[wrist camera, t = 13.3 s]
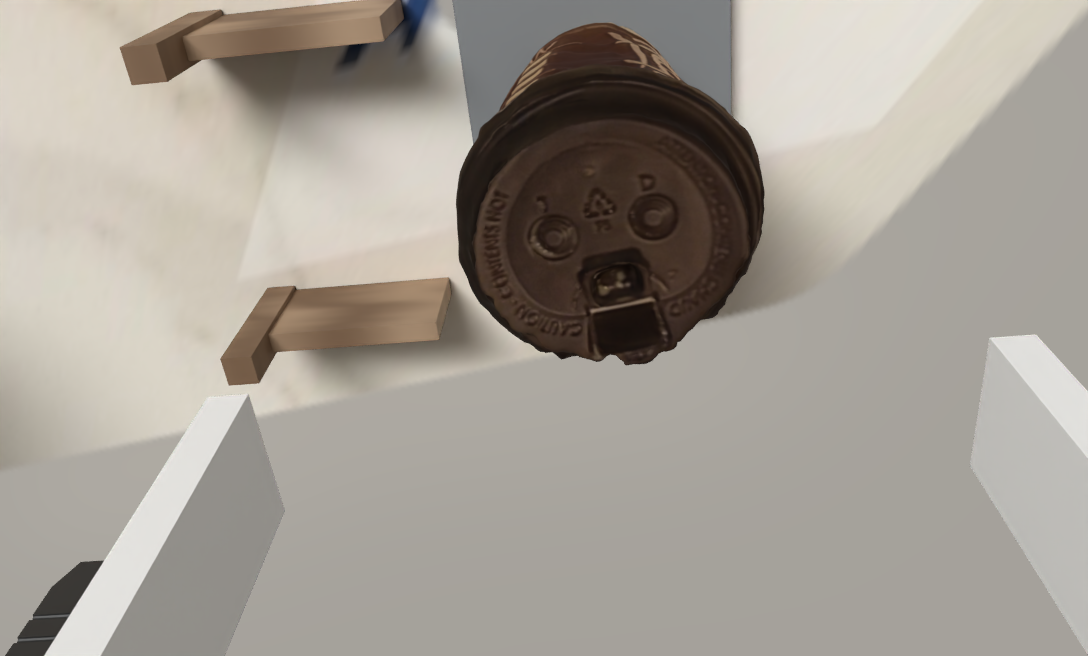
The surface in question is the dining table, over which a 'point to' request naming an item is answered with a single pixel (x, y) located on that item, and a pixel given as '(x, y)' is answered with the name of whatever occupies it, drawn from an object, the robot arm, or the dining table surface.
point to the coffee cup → (607, 201)
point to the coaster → (566, 3)
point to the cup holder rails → (286, 311)
